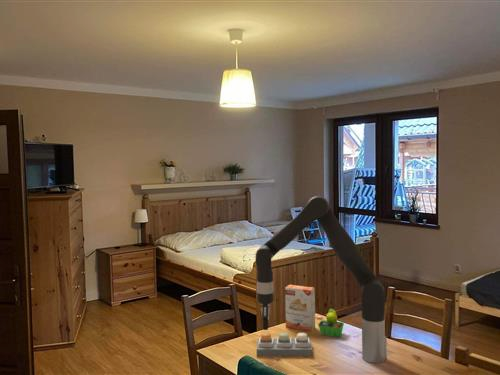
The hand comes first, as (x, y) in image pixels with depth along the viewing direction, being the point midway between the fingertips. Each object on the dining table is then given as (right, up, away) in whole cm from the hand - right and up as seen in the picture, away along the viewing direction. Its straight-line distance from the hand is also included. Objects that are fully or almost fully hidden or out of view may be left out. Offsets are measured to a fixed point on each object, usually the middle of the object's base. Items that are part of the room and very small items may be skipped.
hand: (265, 329), depth 197 cm
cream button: (+16, -4, -1) cm, 17 cm away
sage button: (+8, -4, 0) cm, 9 cm away
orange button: (0, -4, 0) cm, 4 cm away
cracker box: (+19, -8, +27) cm, 34 cm away
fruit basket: (+33, -8, +18) cm, 38 cm away
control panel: (+8, -9, 0) cm, 13 cm away
